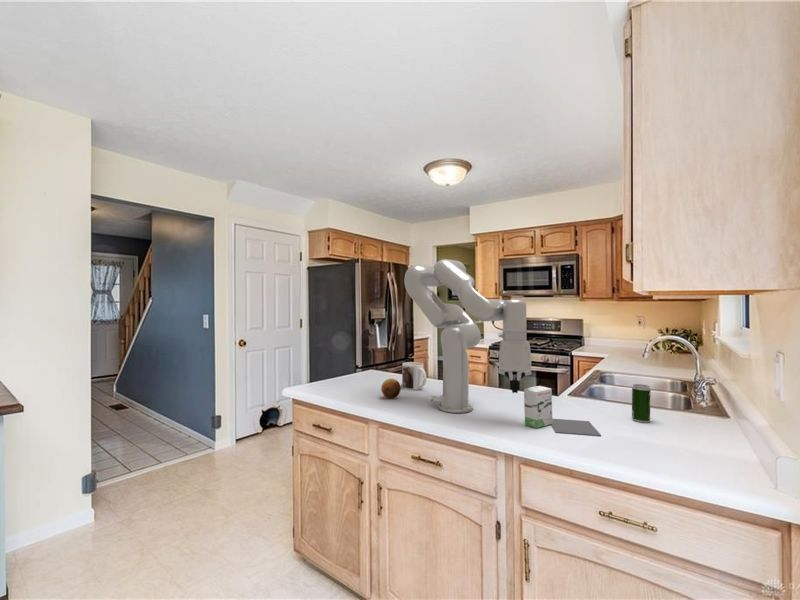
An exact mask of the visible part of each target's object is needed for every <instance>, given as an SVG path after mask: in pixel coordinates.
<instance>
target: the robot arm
mask: <svg viewBox="0 0 800 600" xmlns="http://www.w3.org/2000/svg"><path fill="white" fill-rule="evenodd" d="M475 282H476V281H475V279H474V277H472V276H471V275H469V274H468V273H467V268H466V266H465V264H464V263H463V262H461V261H459V260H454V259H448V258H447V259H446V258H445V259H440V260H438V261H436V262H435V264H434V265H433V266H432V265H425V264H424V265H423V264H417V265H416V264H415V265H412V266H410V267H408V268H407V269H406V271H405V274H404V288H405V290H406V292H407V294H408V295H409V297H410V298H411V299H412V301H414V303H415V304H416V306H418V308H419V309H420V310H421V312H422V313H423V314H424V316H425V317H426V318H427V319H428V321H429V322H430V324H431V325H432V326H433V327H434V328H437V329H442V331H441V334H440V344H441V349H442V395H439V396H434V395H431V396H430V401H431V402H433V403H438V409H439V410H440V411H443V412H446V413H452V414H465V413H470V412H471V411H473V405H472V404H470V403H469V382H470V379H469V375H470V374H469V373H470V371H469V369H470V368H469V366H470V365H469V357H468V352H467V349H470V348H474V347H476V346H478V345H479V343H480V341H481V339H482V335H481V334H482V333H481V331H480V328H479V327H478V326H477V324H476V323H475V322H474V320H473V319H472V318H471V317H470V316H469V315H468V314H467V312H468V313H469V314H471V315H472V316H473V317H474V318H475V319H477V320H478V321H481V322H498V321H499V322H500V321H502V332H499V333H498V338H501V339H502V340H500V344H499V353H498V370H497V373H498V374H500V375H502V376H505V377H506V378H508V379H509V390H511V391H512V394H514V393H516V394H518V392H519V391H520V390H521V389H520V388H521V387H520V382H521V380H522V379H523V378H524V377H526V376H531V375H532V374H533V373H532V356H531V344H530V341H528V340H527V302H526V301H525V300H522V299H506V300H505V299H495V298H486V297H484V295H481V293H480V292H478V291H477V290H476V289H475V288H474V286H475ZM441 286H446V287H447V288H448V289H449V290H451V291H452V292H453V293H454V294H455V295H456V296H457V297H458V300H459V303H460V304H461V306H462V307H461V306H459V305H458V304H455V303H445V302H443V301H442V300H441V299H440V297H439V296H438V295H437V294H436V292H435V291H433V290H432V289H431V288H430V287H434V288H435V287H441ZM463 308H464V309H465V310H466V311H467V312H466V311H465V310H464V309H463ZM514 372H515V373H516V375H515V377H514V376H513V373H514Z"/></svg>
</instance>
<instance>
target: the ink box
mask: <svg viewBox="0 0 800 600" xmlns="http://www.w3.org/2000/svg"><path fill="white" fill-rule="evenodd" d="M552 392H553V391H552V388H550V387H546V386H542V385H538V386H537V385H536V386H531V387H526V388H524V389H523V393H524V394H523V399H524V403H523V404H524V406H523V407H524V425H526V426H528V427H532V428H535V429H539V428H542V427H546V426H549V425H551V424H552V423H553V421H552V419H553V397H552V395H553V393H552Z"/></svg>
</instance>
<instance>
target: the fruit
mask: <svg viewBox="0 0 800 600" xmlns="http://www.w3.org/2000/svg"><path fill="white" fill-rule="evenodd" d="M401 387H402V386H401V383H400V382H399V381H398V380H397V379H394V378H387V379H386V380H383V382H382V385H381V388H380V390H381V393H382V394H383V396H384V397H385V398H387V399H392V400H393V399H395V398H397V397H398V396H399V395H400V392H401V390H402V388H401Z"/></svg>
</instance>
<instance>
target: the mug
mask: <svg viewBox="0 0 800 600" xmlns="http://www.w3.org/2000/svg"><path fill="white" fill-rule="evenodd" d="M401 367H402V370H401V373H402V374H401V387H402V388H401V389H403V390H408V391H419V390H422V389H423V388H424V386H425V385H426V383H427V372H426V371H425V368H424V363H423V362H418V361H415V362H414V361H411V362H410V361H407V362H403V363H402V365H401Z"/></svg>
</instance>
